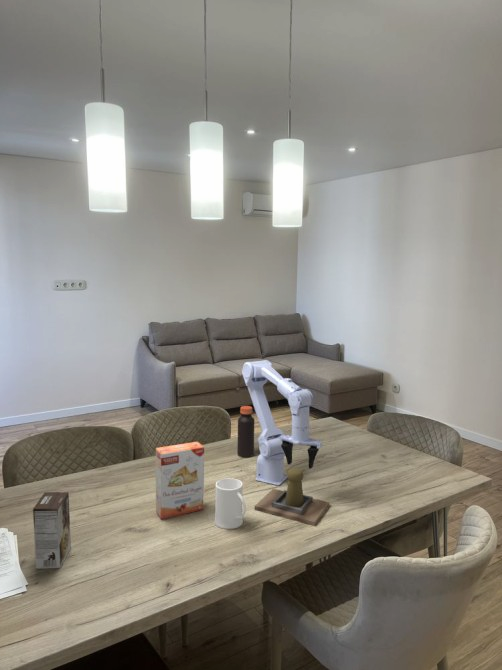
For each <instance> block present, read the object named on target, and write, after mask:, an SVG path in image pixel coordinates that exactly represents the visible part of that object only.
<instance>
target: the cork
mask: <svg viewBox="0 0 502 670" xmlns="http://www.w3.org/2000/svg"><path fill="white" fill-rule="evenodd" d="M286 476H287V479H288V482H287V488H286V491H287V493H286V500H285V504H286V505H288V506H292V507H301V506H303V504H304V499H303V495H304V492H303V480H304V472H303V471H302V469H300V468H297V467H296V468H290V469H288V471H287V474H286Z"/></svg>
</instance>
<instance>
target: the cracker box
mask: <svg viewBox="0 0 502 670" xmlns="http://www.w3.org/2000/svg"><path fill="white" fill-rule="evenodd" d="M204 482H205V447H204V446H203V444H201V443H200V442H199V441H193V442H187V443H180V444H174V445H173V444H172V445H167V446H160V447H156V448H155V511H156V514H158V517H159V518H160V519H161V520H163V519H168V518H172V517H177V516H180V515H184V514H190V513H194V512H198V511H203V510H204V494H205V493H204V489H205V488H204V485H205V483H204Z"/></svg>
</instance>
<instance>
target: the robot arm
mask: <svg viewBox="0 0 502 670" xmlns="http://www.w3.org/2000/svg"><path fill="white" fill-rule="evenodd" d="M273 367H274V366H273V363H272V362H270V361H269V360H268V359H262V360H256V361H246V362H244V364H243V366H242V370H241V373H242V377H243V380H244V383H245V386H246V387H247V389H248V392H249V396H250V399H251V402H252V405H253V409H254V411H255V414H256V416H257V420H258V423H259V426H260V429H261V433H260V434H259V436H258V438H257V442H258V445H259V446H258V449H259V453H260V454H259V455H258V456H257V459H256V478H255V481H258V482H263V483H266V484H270V485H275V486H280V485H281V484H282V483H284V481H286V480H287V479H288V478H287V475H284V472H285V471H284V470H285V458H286V463H287V465H288V466H290V465H291V464H292V463H293V446H294V445H298V446H299V445H300V446H306V447H309V448H307V456H308V469H310V470H311V469H312V468H313V467H314V464H315V460H316V456H317V454H318V452H319V450H320V449H321V448H322V447H323V441H322V440H321V441H320V440H317V439H314V438H310V407H311V406H312V405H313V403H314V396H313V394H312V392H311V391H310V389H308V388H301V387H300V386H299V385H297V384H296V383H295V382H294V381H293V379H292V378H289V377H288V378H287V377H283V376H282V375H281V374H280V373H279V372H278V371H277V370H275V369H274V368H273ZM268 381H270V383H272V384H273V385H275V386H276V388H277V392H279V393H280V394H281V395H282V396H283V397H284V398H285V399H286V400H287V401H288V402H287V403H288V405H289V408H290V412H291V435H285V433H284V431H283V430H281V429H280V428H278V427H277V426H276V423H275V420H274V416H273V414H272V412H271V408H270V406H269V402H268V399H267V395H266V394H265V390H264V385H265V384H266V383H267V382H268Z"/></svg>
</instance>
